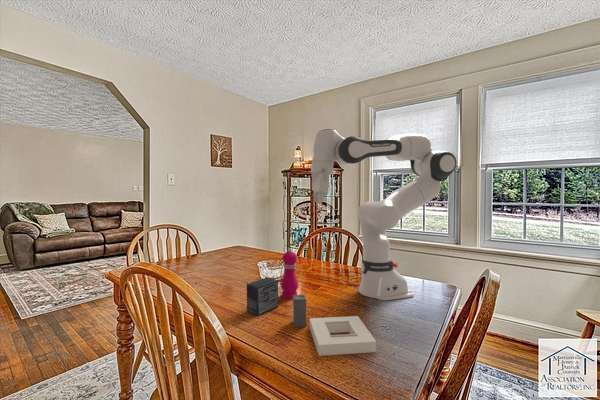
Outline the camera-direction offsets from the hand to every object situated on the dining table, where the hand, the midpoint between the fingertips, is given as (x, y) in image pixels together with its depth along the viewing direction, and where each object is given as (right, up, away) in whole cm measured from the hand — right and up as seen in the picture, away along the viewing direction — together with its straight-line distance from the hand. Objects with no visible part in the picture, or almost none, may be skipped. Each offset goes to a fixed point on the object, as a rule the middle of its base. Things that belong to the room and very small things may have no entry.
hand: (317, 203), depth 121 cm
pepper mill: (-12, -39, +2) cm, 40 cm away
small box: (-21, -39, -12) cm, 46 cm away
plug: (-7, -40, -23) cm, 47 cm away
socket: (+5, -40, -33) cm, 52 cm away
